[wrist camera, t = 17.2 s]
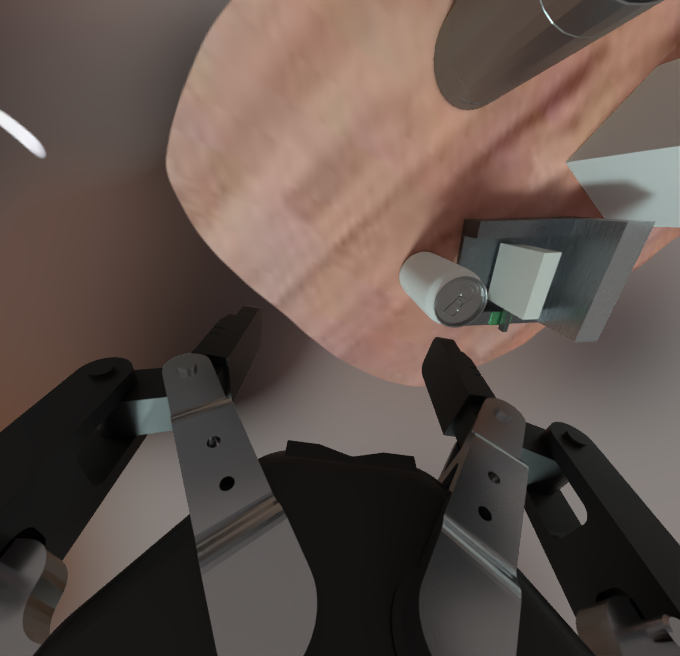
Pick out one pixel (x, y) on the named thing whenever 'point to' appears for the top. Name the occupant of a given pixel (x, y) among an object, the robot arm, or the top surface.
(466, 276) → the can
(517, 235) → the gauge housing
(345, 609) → the robot arm
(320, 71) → the top surface
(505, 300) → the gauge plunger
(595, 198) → the milk
